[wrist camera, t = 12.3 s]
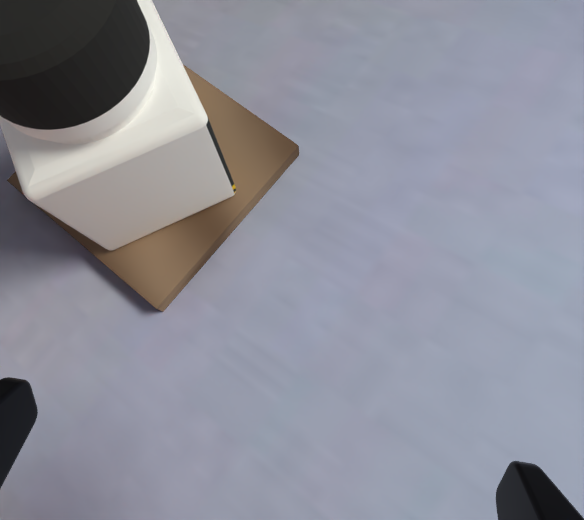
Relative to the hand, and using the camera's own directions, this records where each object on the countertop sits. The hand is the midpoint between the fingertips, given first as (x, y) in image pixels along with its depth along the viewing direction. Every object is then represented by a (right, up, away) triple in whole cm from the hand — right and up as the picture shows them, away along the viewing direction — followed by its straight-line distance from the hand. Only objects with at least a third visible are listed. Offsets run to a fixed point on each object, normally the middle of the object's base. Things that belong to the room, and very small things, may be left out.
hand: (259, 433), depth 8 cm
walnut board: (-7, +8, +16) cm, 20 cm away
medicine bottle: (-7, +8, +16) cm, 19 cm away
